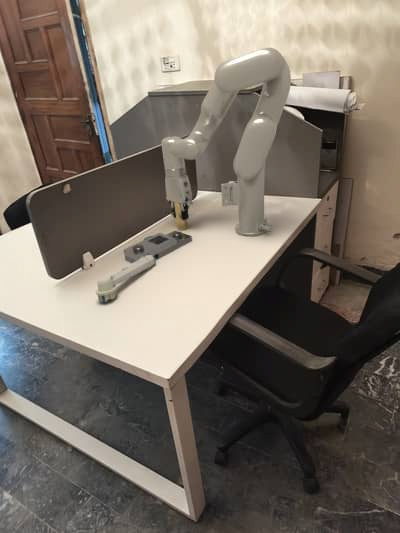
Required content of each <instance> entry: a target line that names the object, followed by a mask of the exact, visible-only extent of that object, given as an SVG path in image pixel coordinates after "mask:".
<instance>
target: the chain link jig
mask: <svg viewBox="0 0 400 533" xmlns="http://www.w3.org/2000/svg"><path fill="white" fill-rule="evenodd" d="M191 242H193V237H192V235H189V234H186V233H184V232H181V231H179V230H178V231H177V230H173V231H171V232H169V233H167V234H165V233H161V232H159V233H155V234H154V235H152V236H150V237H147V238H146V239H144V240H141V241H139V242H137V243H134V244H132V245H131V246H128V247H126V248H124V249H123V254H124V260H125V261H127V262H129V263H130V264H132V263H134V262H135V261H137V260H139V259H140V258H141V257H144V256H146V255H153V256H154V257H155V259H161V258H162V257H164V256H166V255H169V254H170V253H172V252H174V251H177V249H179V248H182V247H183V246H185V245H187V244H189V243H191Z"/></svg>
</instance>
